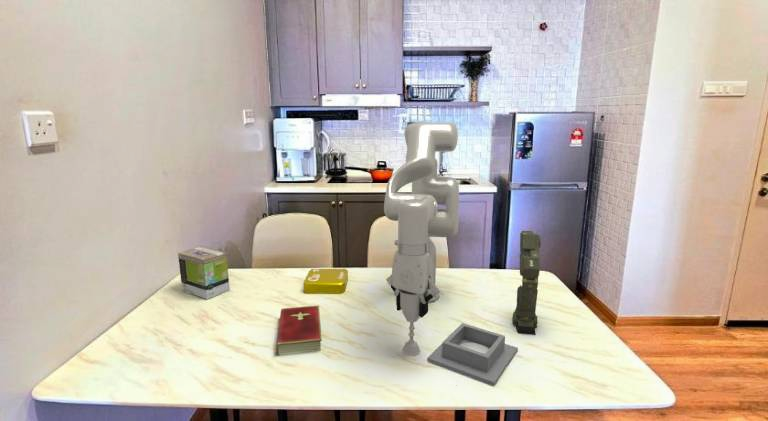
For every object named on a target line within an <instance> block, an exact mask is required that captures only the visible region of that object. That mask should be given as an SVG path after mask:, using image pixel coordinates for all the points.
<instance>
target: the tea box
mask: <svg viewBox="0 0 768 421" xmlns="http://www.w3.org/2000/svg"><path fill="white" fill-rule="evenodd" d="M177 256H178V257H177V258H178V263H179V264H178V265H179V272H180V282H181V289H182V291H184V292H186V293H189V294H191V295H195V296H197V297H200V298H203V299H206V300H210V299H213V298H214V297H217V296H219V295H222V294H223V293H226V292H229V291H230V282H229V281H230V279H229V267H228V256H227V252H225V251H221V250H216V249H213V248H210V247H206V246H199V247H195V248H192V249H188V250H184V251H182V252H178V253H177Z"/></svg>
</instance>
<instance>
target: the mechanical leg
mask: <svg viewBox="0 0 768 421" xmlns="http://www.w3.org/2000/svg"><path fill="white" fill-rule="evenodd" d="M519 235H520V240H519V251H520V254H519V276H521V277H522V278H521V279H522V281H521V282H522V283H521V284H519V286H518V287H517V289H516V290H517V291H516V306H515V310H514V311H513V312H512V325H513V326H514V328H515V330H516V332H517V334H520V335H521V334H522V335H530V336H535V335H536V328H537V327H538V323H539V322H538V321H539V320H538V319H539V318H538V315H536V311H537V310H536V308H537V299H538V292H539V290H538V286H539V277H540V249H541V245H542V244H541V242H542V240H541V235H540V234H538V233H537V232H536V233H535V232H533V231H531V230H522V231H520V234H519Z"/></svg>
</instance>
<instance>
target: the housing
mask: <svg viewBox="0 0 768 421" xmlns="http://www.w3.org/2000/svg"><path fill="white" fill-rule="evenodd" d="M518 350H519V348H518V347H517V346H514V345H510V344H507V343H506V335H503V334H499V333H497V332H495V331H490V330H487V329H484V328H480V327H477V326H473V325H471V324H470V325H469V324H467V323H463V322H462V323H461V324H459V325H458V326H457V327H456V328H455V329H454V330H453V332H451V333H450V334H449V335H448V336H447V337H446V338H445V339H444V340H443V341H442V343H441V344H440V345H438V347H437V348H436V349H435V350H434V351H432V353H431V354H429V355H428V356H427V358H426V362H428V363H431V364H434V365H437V366H440V367H442V368H445V369H447V370H450V371H452V372H455V373H458V374H461V375H463V376H466V377H469V378H471V379H474V380H477V381H479V382H482V383H485V384H487V385H490V386H493V387H495V385H496V384H497V382H498V381H500V378H501V376H502V375H503V374H504V373H505V370H506V369H507V367H508V366H509V365H510V363H511V362H512V360H513V359H514V357H515V356H516V354H517V353H518Z"/></svg>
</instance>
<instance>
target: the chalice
mask: <svg viewBox="0 0 768 421" xmlns="http://www.w3.org/2000/svg"><path fill="white" fill-rule="evenodd" d="M399 291H400V307H401V310H400V311H401V313H402V315H403V316H404V318H405V320H406V321H407V322H408V323H409V326H408V330H409V333H408V334H407V335H408V336H409V339H408V340H407V341H406V342H405V343H404V345H403V347H402V350H401V351H402V353H403V354H404V355H406V356H409V357H413V356H418V355H419V354H421V352H422V351H421V348H420V346H419V343H418V342H417V341H415V340H414V336H415V335H416V334H415V333H414V330H416V329H415V327H414V326H415V325H414V323H416V322H417V321H418V320H419V318H420V317H419V304H420V303H421V299H420V296H419V295H418V294H414V293H410V292H407V291H403V290H400V289H399Z"/></svg>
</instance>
